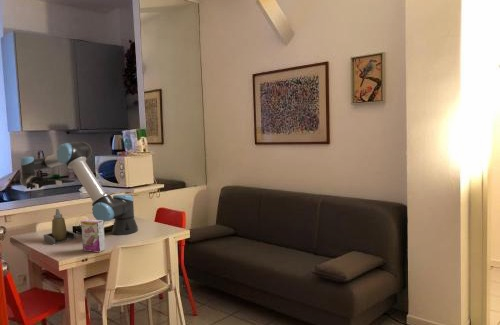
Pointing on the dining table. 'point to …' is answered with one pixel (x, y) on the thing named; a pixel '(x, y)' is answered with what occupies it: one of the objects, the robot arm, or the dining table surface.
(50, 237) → the dark grey tray
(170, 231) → the dining table surface
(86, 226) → the candy bar box
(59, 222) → the squeeze bottle
